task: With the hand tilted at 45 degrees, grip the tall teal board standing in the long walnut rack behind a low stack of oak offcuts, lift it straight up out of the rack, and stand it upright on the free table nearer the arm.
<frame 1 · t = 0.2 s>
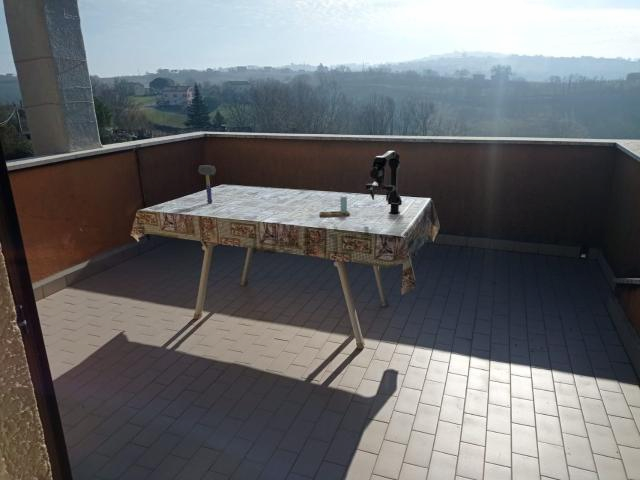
hand: (379, 200, 294), 15 cm above the table, tool pointing down, fingers open, 9 cm apart
walnut rack: (343, 214, 319), on the table
oak offcuts: (327, 216, 318), resting in walnut rack
teal board: (343, 215, 319), resting in walnut rack
rubber mallet: (210, 203, 361), on the table
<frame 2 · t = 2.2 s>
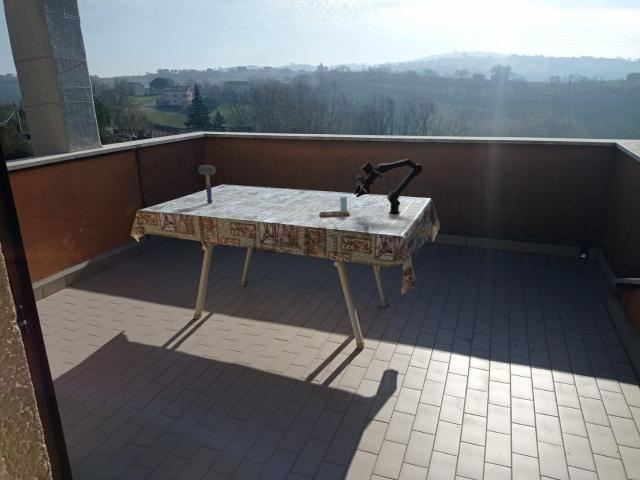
hand: (355, 195, 315), 13 cm above the table, tool tilted 45°, fingers open, 9 cm apart
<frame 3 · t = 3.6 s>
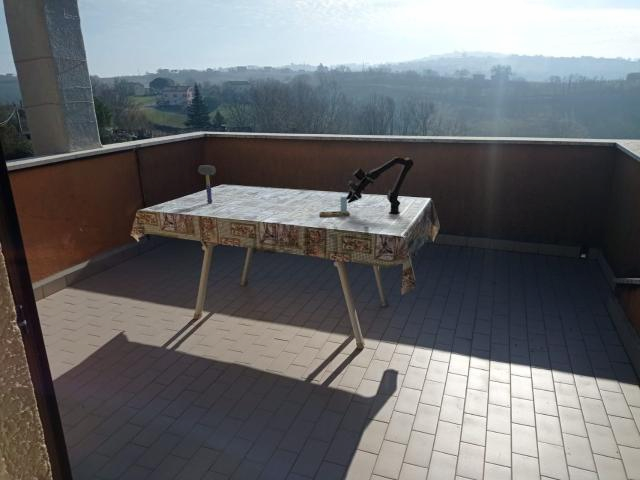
hand: (346, 201, 316), 10 cm above the table, tool tilted 45°, fingers open, 9 cm apart
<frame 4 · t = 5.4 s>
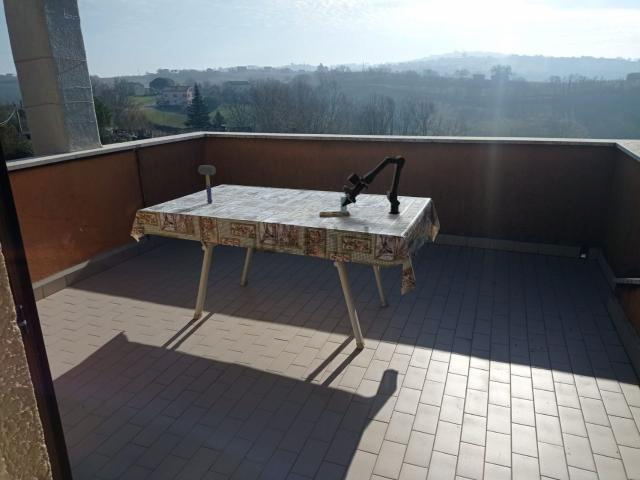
hand: (341, 205, 317), 7 cm above the table, tool tilted 45°, fingers closed on teal board, 2 cm apart
teal board: (343, 214, 319), resting in walnut rack, touching gripper
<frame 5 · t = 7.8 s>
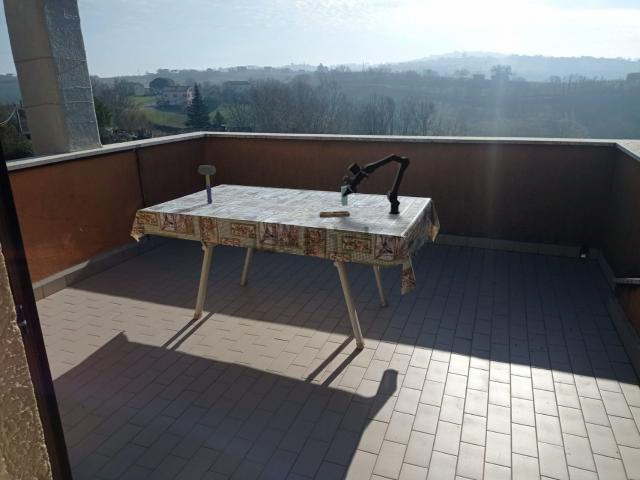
hand: (342, 196, 315), 13 cm above the table, tool tilted 45°, fingers closed on teal board, 2 cm apart
teal board: (344, 205, 317), point 7 cm above the table, touching gripper
when the fingers open (8 cm above the table, at t = 10.3 s): teal board drops 1 cm, on the table.
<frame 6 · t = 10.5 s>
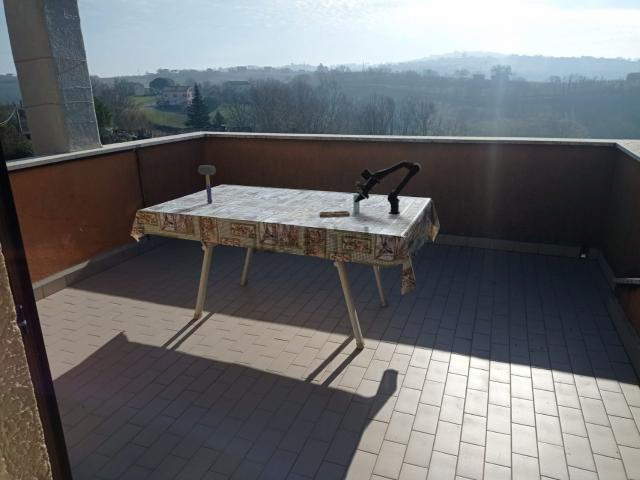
hand: (354, 201, 323), 8 cm above the table, tool tilted 45°, fingers open, 5 cm apart
teal board: (356, 212, 325), on the table
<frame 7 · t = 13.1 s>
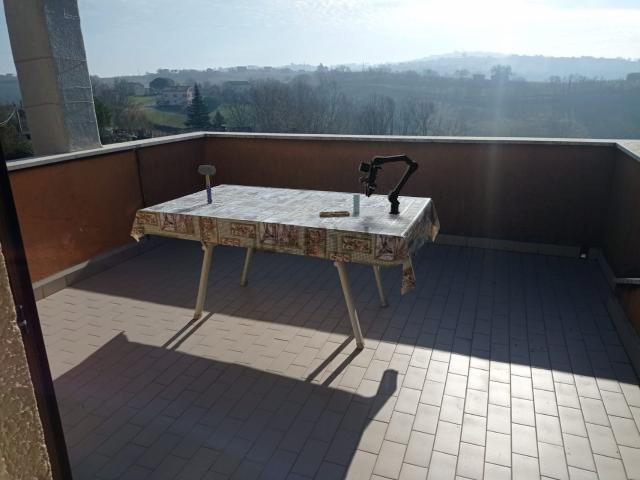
hand: (367, 196, 316), 12 cm above the table, tool tilted 15°, fingers open, 9 cm apart
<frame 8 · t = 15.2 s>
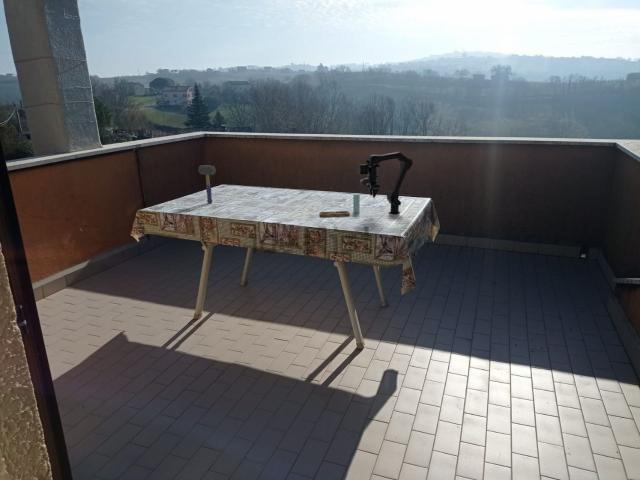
hand: (372, 196, 313), 13 cm above the table, tool pointing down, fingers open, 9 cm apart
at the end: teal board inside the target area (0.1 cm from its centre), on the table; teal board tilted 0°; oak offcuts inside the target area on the walnut rack (3.8 cm from its centre), point 0.0 cm above the walnut rack's base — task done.
